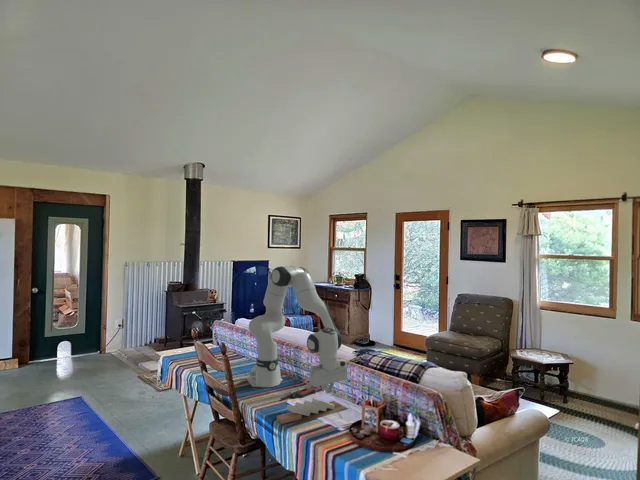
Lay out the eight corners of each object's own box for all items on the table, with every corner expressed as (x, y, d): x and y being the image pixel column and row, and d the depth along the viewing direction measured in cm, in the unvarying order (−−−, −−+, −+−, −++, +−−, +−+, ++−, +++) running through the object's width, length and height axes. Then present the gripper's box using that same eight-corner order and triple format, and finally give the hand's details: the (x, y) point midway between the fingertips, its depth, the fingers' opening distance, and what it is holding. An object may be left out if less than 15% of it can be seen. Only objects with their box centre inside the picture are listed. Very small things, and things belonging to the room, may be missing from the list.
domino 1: (301, 418, 191) (282, 423, 185) (295, 414, 195) (276, 419, 189) (301, 414, 191) (282, 419, 185) (295, 410, 195) (276, 415, 189)
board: (283, 416, 195) (283, 414, 195) (333, 402, 211) (333, 400, 211) (297, 425, 185) (297, 423, 185) (348, 410, 201) (348, 408, 201)
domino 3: (317, 413, 196) (300, 409, 190) (311, 410, 200) (295, 406, 194) (319, 409, 196) (302, 405, 191) (312, 406, 200) (296, 402, 195)
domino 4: (325, 411, 198) (309, 407, 193) (319, 408, 202) (303, 404, 197) (327, 407, 199) (310, 403, 193) (320, 404, 203) (304, 400, 197)
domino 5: (333, 409, 201) (317, 405, 195) (327, 406, 205) (311, 401, 200) (334, 405, 201) (319, 401, 196) (328, 402, 205) (312, 398, 200)
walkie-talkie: (304, 390, 230) (279, 401, 215) (304, 382, 230) (279, 392, 215) (317, 393, 225) (292, 405, 209) (317, 385, 225) (292, 396, 209)
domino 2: (309, 416, 193) (292, 412, 188) (303, 412, 197) (286, 408, 192) (310, 412, 193) (293, 408, 188) (304, 408, 197) (287, 404, 192)
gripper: (314, 368, 194) (314, 398, 194) (349, 361, 205) (349, 389, 205) (306, 365, 199) (306, 394, 199) (341, 358, 210) (341, 386, 210)
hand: (328, 392), depth 202 cm, fingers closed
